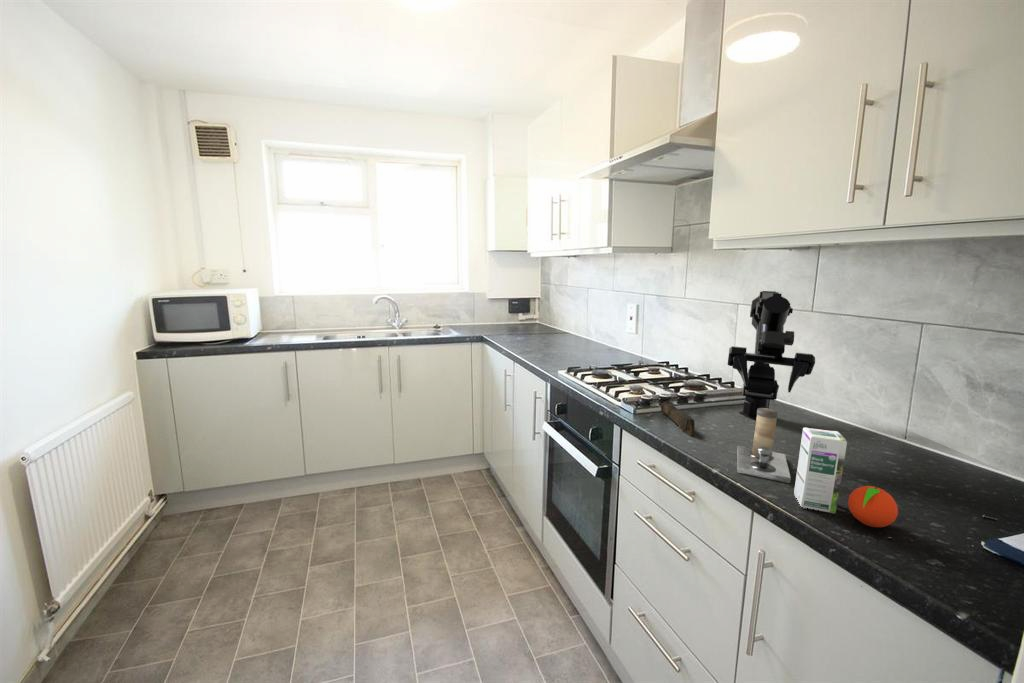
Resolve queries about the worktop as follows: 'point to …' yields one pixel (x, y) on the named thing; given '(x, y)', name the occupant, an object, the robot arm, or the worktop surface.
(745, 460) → the plate
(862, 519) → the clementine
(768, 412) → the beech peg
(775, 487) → the worktop surface
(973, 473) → the worktop surface
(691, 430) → the brown rough bar
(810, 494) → the syrup box
